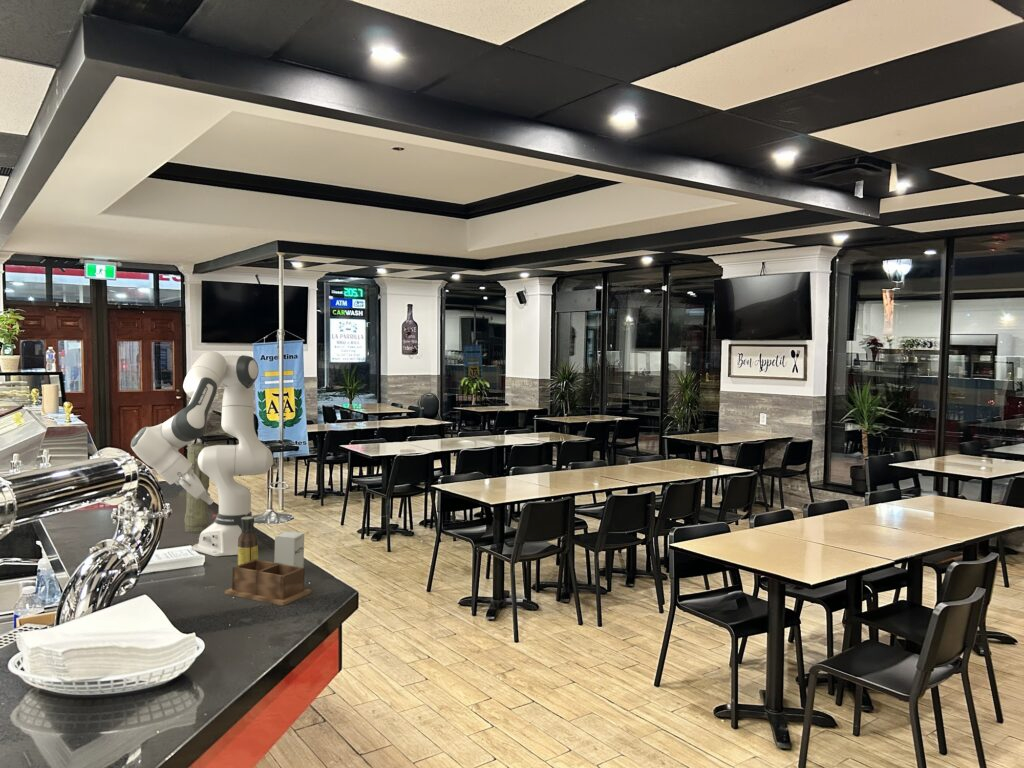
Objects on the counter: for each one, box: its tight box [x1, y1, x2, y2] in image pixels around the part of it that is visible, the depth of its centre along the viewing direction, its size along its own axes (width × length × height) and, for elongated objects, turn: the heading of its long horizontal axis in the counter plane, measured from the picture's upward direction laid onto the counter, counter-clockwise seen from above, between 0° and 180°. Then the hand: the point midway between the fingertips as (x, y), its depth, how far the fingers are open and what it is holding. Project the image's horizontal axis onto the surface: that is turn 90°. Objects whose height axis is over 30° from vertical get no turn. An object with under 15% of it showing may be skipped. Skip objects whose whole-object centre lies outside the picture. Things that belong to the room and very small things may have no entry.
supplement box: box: [273, 531, 305, 568], centre depth 248 cm, size 7×7×13 cm
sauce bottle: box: [237, 516, 259, 566], centre depth 240 cm, size 6×6×20 cm
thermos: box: [183, 442, 210, 534], centre depth 295 cm, size 9×12×35 cm
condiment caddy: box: [224, 559, 312, 607], centre depth 226 cm, size 22×13×8 cm, turn 68°
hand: (210, 499), depth 233 cm, fingers open, 8 cm apart
